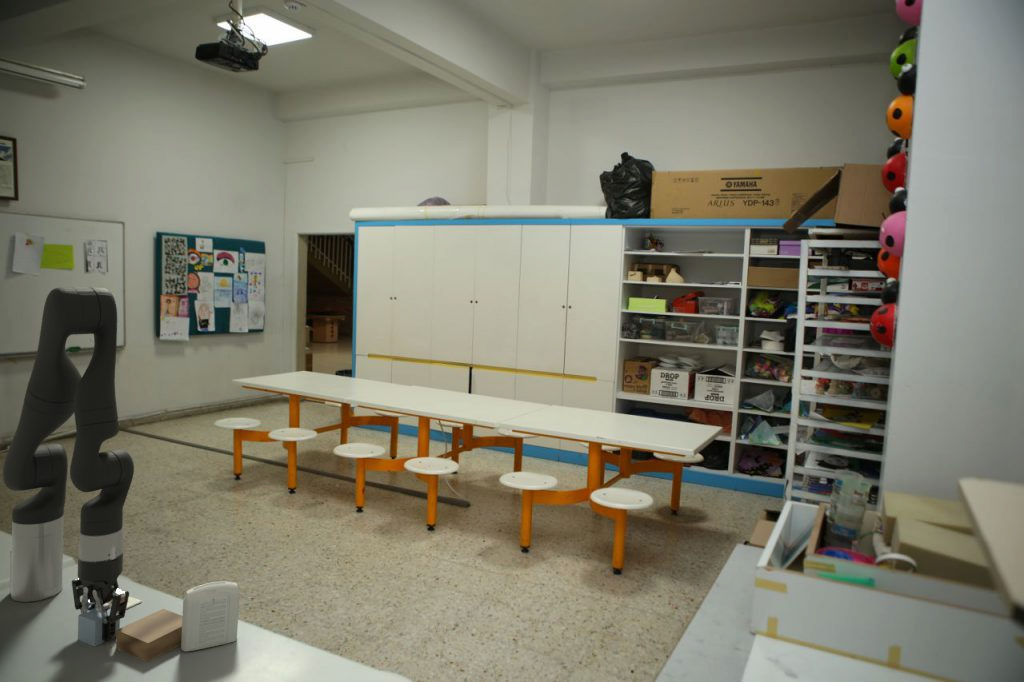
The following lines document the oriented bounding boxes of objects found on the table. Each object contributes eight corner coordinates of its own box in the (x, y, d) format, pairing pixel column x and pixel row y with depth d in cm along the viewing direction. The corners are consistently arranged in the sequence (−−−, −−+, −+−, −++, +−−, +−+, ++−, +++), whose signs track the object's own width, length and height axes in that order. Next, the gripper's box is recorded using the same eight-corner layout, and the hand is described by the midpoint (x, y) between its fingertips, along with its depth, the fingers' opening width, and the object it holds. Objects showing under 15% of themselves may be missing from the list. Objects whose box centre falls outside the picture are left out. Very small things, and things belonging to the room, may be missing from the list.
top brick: (77, 639, 126) (78, 615, 126) (102, 628, 131) (103, 604, 131) (94, 646, 124) (95, 621, 124) (119, 634, 129) (120, 610, 129)
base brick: (116, 649, 124) (116, 630, 124) (162, 627, 134) (163, 608, 133) (147, 663, 121) (148, 643, 120) (193, 639, 130) (194, 620, 130)
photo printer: (235, 632, 133) (237, 574, 132) (239, 642, 129) (241, 582, 128) (179, 644, 127) (181, 583, 126) (182, 655, 124) (184, 593, 123)
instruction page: (92, 601, 141) (92, 599, 141) (114, 592, 146) (114, 590, 146) (120, 611, 138) (120, 610, 138) (142, 602, 142) (142, 600, 142)
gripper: (57, 550, 126) (56, 634, 127) (107, 567, 120) (104, 654, 121) (95, 538, 133) (93, 617, 134) (143, 553, 127) (141, 636, 128)
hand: (98, 634), depth 128 cm, fingers closed on top brick, 5 cm apart
